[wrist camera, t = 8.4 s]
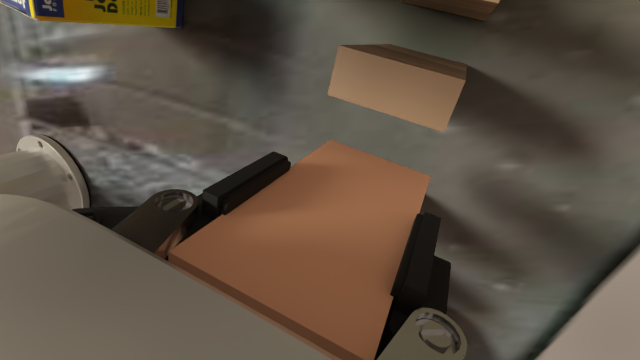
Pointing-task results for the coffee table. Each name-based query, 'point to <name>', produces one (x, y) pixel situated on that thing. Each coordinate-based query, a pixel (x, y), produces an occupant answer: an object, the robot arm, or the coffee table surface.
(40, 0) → the supplement box
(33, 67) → the coffee table surface
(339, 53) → the domino
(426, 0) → the domino
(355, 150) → the domino
